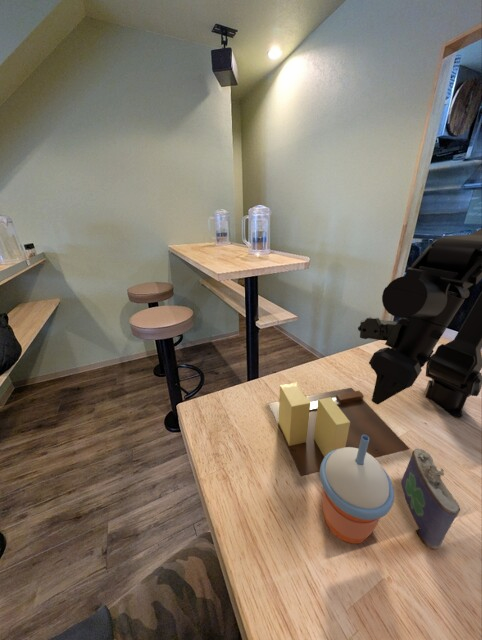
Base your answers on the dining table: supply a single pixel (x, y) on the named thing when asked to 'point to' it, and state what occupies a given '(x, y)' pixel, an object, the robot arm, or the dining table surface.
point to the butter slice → (330, 426)
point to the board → (360, 424)
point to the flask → (428, 499)
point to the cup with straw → (354, 492)
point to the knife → (341, 399)
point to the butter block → (293, 413)
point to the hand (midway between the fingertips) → (382, 394)
